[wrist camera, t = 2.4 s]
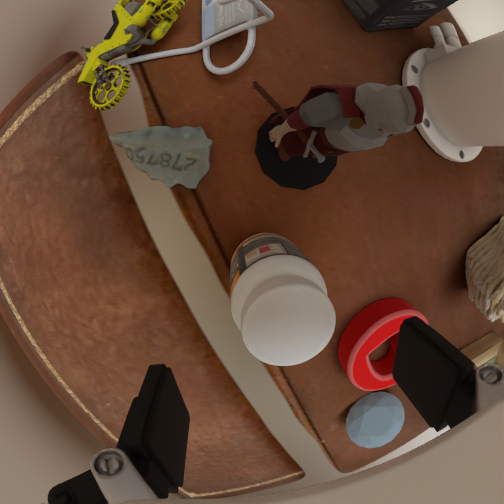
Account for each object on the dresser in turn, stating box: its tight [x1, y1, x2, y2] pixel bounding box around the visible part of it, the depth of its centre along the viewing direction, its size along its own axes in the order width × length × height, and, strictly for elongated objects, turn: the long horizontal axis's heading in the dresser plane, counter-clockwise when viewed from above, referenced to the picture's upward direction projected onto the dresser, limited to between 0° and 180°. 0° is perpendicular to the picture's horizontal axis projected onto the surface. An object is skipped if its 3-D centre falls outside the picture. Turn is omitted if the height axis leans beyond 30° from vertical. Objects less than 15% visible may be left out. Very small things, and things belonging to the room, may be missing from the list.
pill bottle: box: [230, 233, 336, 366], centre depth 17 cm, size 6×6×10 cm
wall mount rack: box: [111, 0, 274, 75], centre depth 13 cm, size 16×14×6 cm
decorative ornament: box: [338, 298, 429, 391], centre depth 23 cm, size 10×10×3 cm
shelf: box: [448, 331, 504, 427], centre depth 22 cm, size 12×10×14 cm
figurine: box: [253, 81, 424, 190], centre depth 12 cm, size 7×7×15 cm
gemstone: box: [346, 391, 404, 448], centre depth 26 cm, size 8×8×5 cm
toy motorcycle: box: [78, 0, 188, 111], centre depth 14 cm, size 12×4×7 cm
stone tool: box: [109, 126, 213, 189], centre depth 18 cm, size 9×2×5 cm
